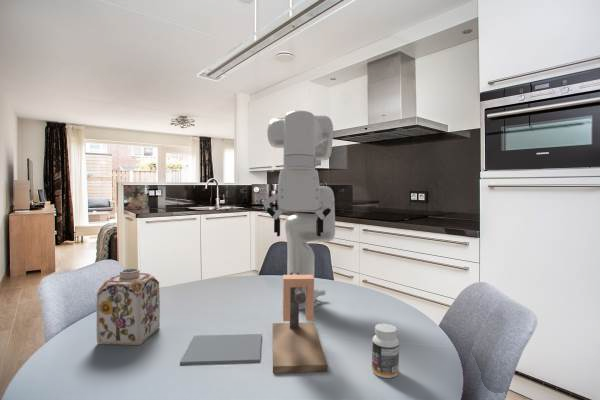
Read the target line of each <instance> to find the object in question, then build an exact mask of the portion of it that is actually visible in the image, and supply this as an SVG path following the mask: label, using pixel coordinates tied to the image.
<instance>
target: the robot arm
mask: <svg viewBox="0 0 600 400" xmlns="http://www.w3.org/2000/svg"><path fill="white" fill-rule="evenodd" d="M266 133H267V136H266V137H267V140H268V143H269V145H270V146H271V147H272V148H275V149H277V148H278V149H280V148H281V149H283V169H280V171H279V175H278V181H277V182H278V183H277V193H276V194H273V195H271V196H270V197H267V198H265V199H263V200H262V205H263V207H264V209H265V211H266V212H267V213H268V214H269V216H271V217H272V219H273V233H276V237H281V219H280V216H281V215H282V214H283V213H284V212H291V213H293V212H296V214H293V215H290V216H288V217H287V218H286V219H285V223H284V228H285V229H284V230H285V236H286V243H287V244H286V245H287V246H286V247H287V248H286V249H287V267H286V268H287V269H286V270H287V274H286V275H290V271H299V275H313V277H314V278H315V253H314V250H313V249H312V247H311V246H310V245H309V244H308V243H309V242H311V243H312V242H322V243H325V242H327V243H328V242H331V241H333V240H334V238H335V235H336V214H335V213H336V211H335V210H336V208H335V204H336V203H335V195H334V191H333V190H332V188H331V187H330V186H327V185H320V177H319V172H318V170H317V169H316V167H318V166H322V162H323V161H328V160H329V159H330V157H331V155H332V148H333V138H334V124H333V122H332V119H331V118H330V117H329V116H327V115H314V114H313V112H310V111H307V110H292V111H289V112H287V113H286V114H285V115H284V117H276V118H272V119H270V121H269V123H268V126H267V130H266ZM275 201H277V203H276V204H277V209H276V211H274V209H272V207H271V206H270V204H271V203H273V202H275ZM297 212H299V214H298V213H297ZM300 212H301V213H300ZM303 213H306V214H303ZM307 213H309V214H307ZM311 213H314V214H311ZM302 289H303V292H304V293H306V287H302ZM325 295H326V291H325V289H321V290H319V289H314V308H315V307H318V305H319V299H318V298H319V297H322V296H325ZM299 310H305V302H304V303H302V304H299Z"/></svg>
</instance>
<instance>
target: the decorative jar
mask: <svg viewBox="0 0 600 400" xmlns="http://www.w3.org/2000/svg"><path fill="white" fill-rule="evenodd" d="M160 302H161V301H160V281H159V280H158V279H157V278H156V277H155V276H153V275H152V274H150V273H147V272H141V271H140V269H139V268H135V267H134V268H124V269H121V270H120V271H119V274H118V275H114V276H111V277H109V278H107V279H106V280H104V282H103V284H102V285H101V287H99V289H98V291H97V293H96V343H97V344H98V345H116V346H120V345H121V346H122V345H123V346H140V345H142V344H143V343H144V342H145V341H146V340H147V339H148V338H150V337H151V336H152V335H153V334H154V333H155V332H156V331H157V330H158V329H160V327H161V325H160V324H161V323H160V322H161V320H160V318H161V309H160V308H161V304H160Z"/></svg>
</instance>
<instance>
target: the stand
mask: <svg viewBox="0 0 600 400" xmlns="http://www.w3.org/2000/svg"><path fill="white" fill-rule="evenodd" d="M290 275H299V271H290ZM305 301H306V295H305V293H304V292H303V289H302V287H290V321H289V322H273V323H272V374H285V373H286V374H287V373H288V374H289V373H311V372H312V373H315V372H328V362H327V359H326V356H325V353H324V350H323V346H322V344H321V341H320V337H319V335H318V331H317V328H316V325H315V322H313V321H311V322H310V321H306V322H300V317H299V316H300V315H299V314H300V313H299V312H300V309H299V304H302V303H304V302H305Z"/></svg>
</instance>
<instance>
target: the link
mask: <svg viewBox="0 0 600 400" xmlns="http://www.w3.org/2000/svg"><path fill="white" fill-rule="evenodd" d="M290 287H306V293H305V295H306V301H305V309H304V310H305V311H304V313H305V314H304V316H305V319H306V322H310V321H311V322H313V321H314V319H315V317H314V315H315V307H314V290H315V276H314V277H313V275H287V274H282V321H283V322H290Z"/></svg>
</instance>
